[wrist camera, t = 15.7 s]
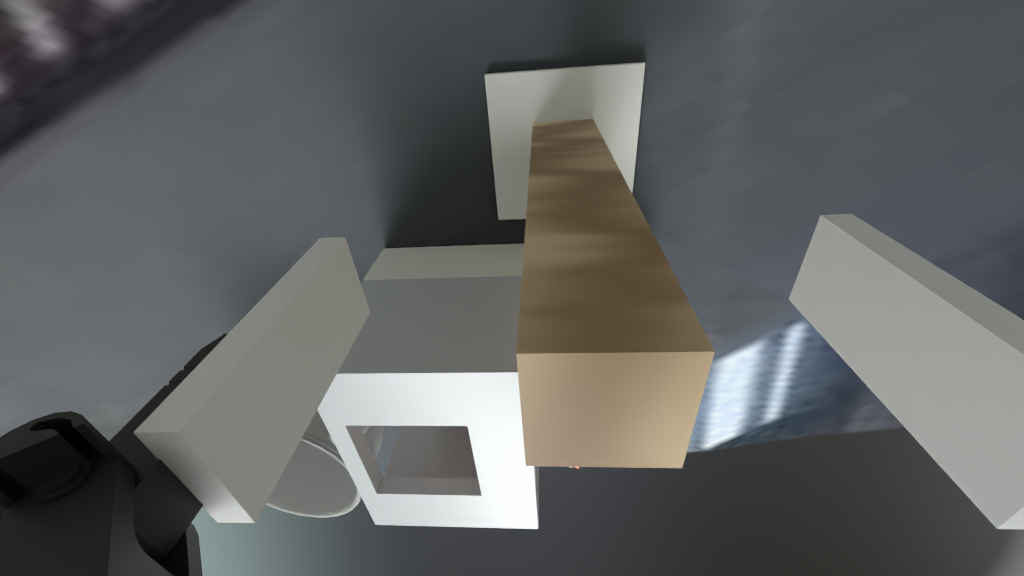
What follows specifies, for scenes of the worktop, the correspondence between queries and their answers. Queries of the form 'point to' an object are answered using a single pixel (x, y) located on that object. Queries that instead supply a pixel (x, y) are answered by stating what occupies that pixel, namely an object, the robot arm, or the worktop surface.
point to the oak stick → (600, 317)
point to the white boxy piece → (438, 390)
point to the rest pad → (559, 119)
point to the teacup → (320, 475)
